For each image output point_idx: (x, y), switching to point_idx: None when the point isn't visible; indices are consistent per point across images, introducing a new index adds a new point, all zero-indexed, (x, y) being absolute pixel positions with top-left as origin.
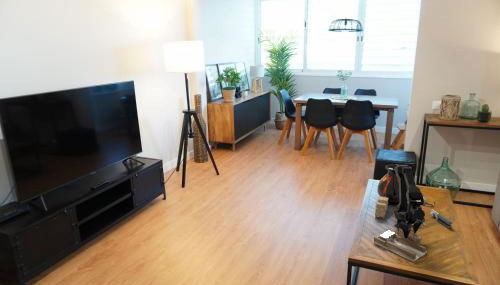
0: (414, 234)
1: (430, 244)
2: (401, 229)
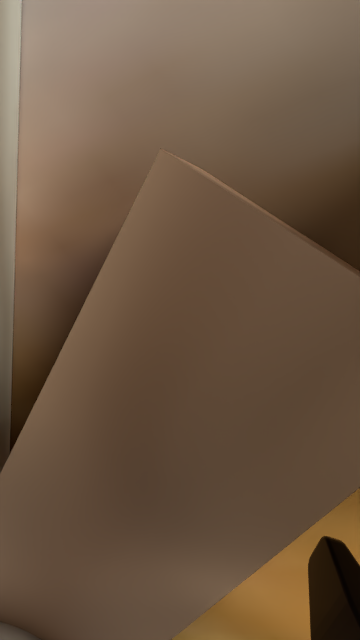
0: (112, 622)
1: (226, 626)
2: (159, 281)
